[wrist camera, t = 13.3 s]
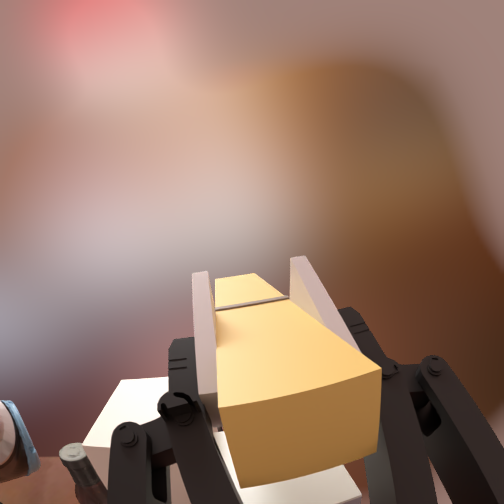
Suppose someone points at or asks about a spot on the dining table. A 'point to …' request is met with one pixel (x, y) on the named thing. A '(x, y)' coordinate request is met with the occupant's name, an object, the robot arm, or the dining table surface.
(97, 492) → the sauce bottle
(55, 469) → the dining table surface
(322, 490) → the grey upright block
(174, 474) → the cream pillar
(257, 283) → the yellow long bar
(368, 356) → the robot arm
